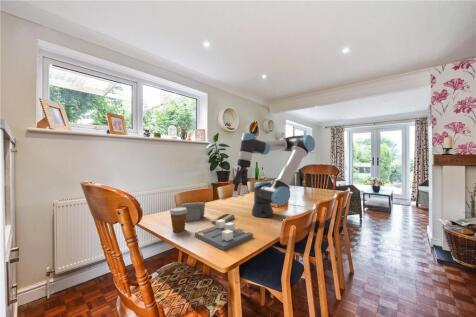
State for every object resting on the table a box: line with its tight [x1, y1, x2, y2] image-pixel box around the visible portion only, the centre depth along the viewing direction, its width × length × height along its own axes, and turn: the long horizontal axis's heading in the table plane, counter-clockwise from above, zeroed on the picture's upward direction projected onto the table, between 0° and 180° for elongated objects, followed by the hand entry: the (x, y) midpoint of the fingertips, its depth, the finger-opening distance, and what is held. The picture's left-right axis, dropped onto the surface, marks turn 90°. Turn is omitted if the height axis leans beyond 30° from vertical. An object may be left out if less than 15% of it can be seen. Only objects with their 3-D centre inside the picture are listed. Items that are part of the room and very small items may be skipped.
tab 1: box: [215, 219, 226, 229], centre depth 111 cm, size 4×4×4 cm
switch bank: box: [194, 225, 254, 251], centre depth 104 cm, size 20×22×2 cm
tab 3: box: [222, 230, 233, 241], centre depth 96 cm, size 4×4×4 cm
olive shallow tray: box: [211, 213, 235, 225], centre depth 129 cm, size 16×8×3 cm, turn 155°
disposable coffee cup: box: [169, 206, 187, 233], centre depth 113 cm, size 10×10×12 cm
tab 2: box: [224, 221, 235, 231], centre depth 106 cm, size 4×4×4 cm
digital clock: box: [179, 201, 206, 222], centre depth 133 cm, size 16×9×11 cm, turn 99°
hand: (238, 196), depth 115 cm, fingers open, 13 cm apart
